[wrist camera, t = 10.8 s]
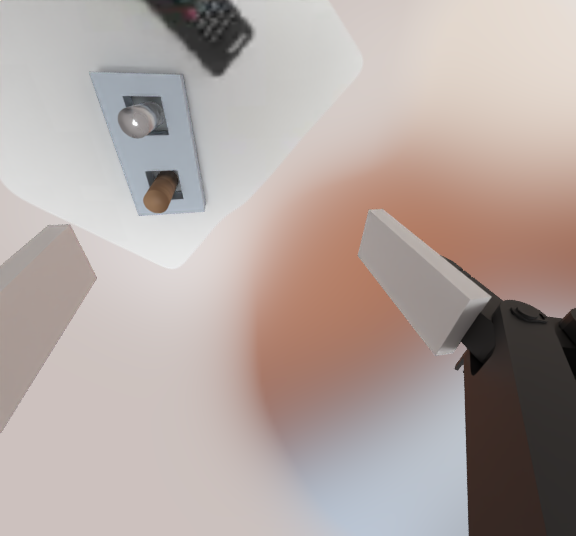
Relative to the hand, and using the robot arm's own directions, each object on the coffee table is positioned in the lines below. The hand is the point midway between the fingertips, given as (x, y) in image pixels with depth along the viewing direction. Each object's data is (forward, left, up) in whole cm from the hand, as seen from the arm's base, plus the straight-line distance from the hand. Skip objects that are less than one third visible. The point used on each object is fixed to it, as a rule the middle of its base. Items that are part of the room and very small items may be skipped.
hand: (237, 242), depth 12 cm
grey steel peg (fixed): (-2, -10, -34) cm, 36 cm away
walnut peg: (+7, -10, -34) cm, 36 cm away
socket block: (+2, -10, -34) cm, 36 cm away
